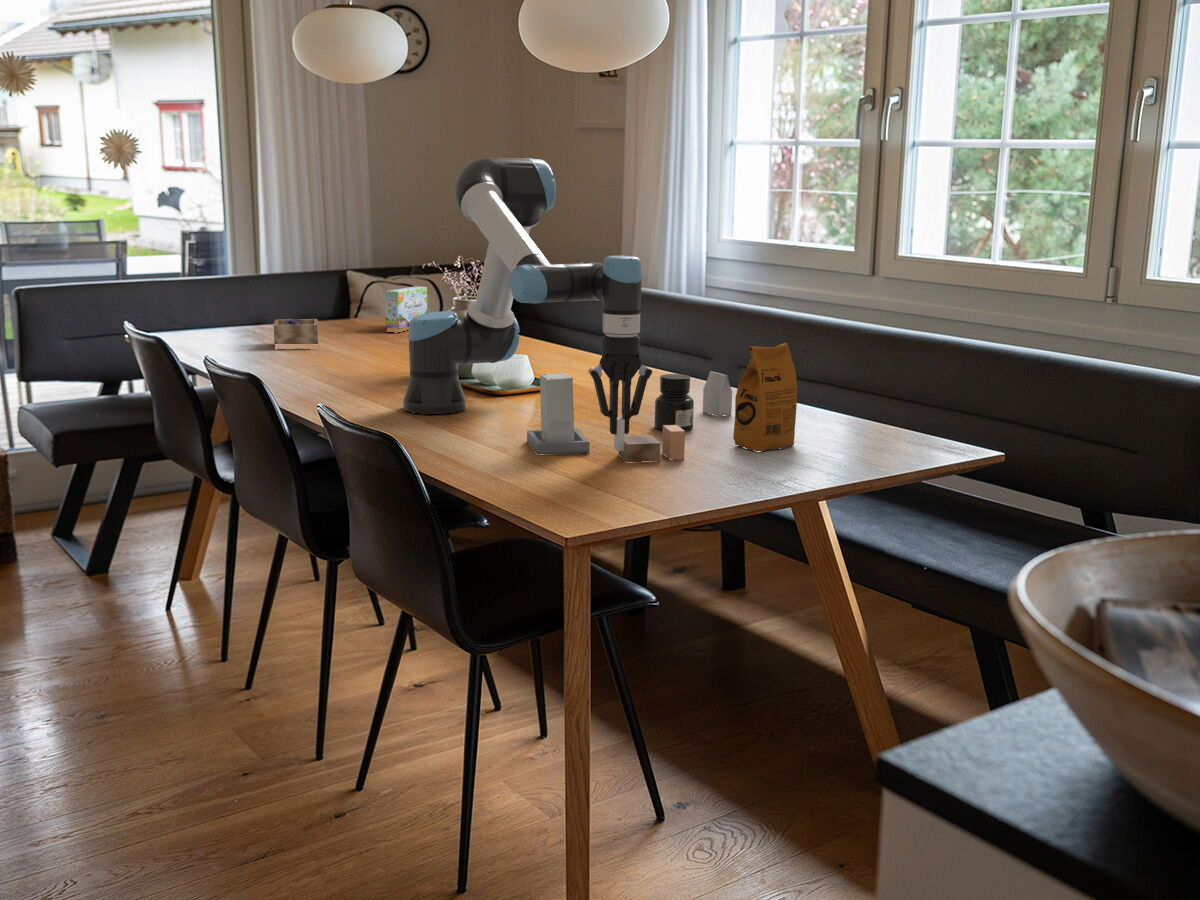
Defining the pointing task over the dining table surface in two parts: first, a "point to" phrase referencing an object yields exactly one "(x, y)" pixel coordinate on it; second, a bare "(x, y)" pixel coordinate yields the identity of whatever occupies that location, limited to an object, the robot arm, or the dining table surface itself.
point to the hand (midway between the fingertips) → (619, 449)
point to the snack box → (405, 305)
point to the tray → (558, 444)
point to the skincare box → (557, 408)
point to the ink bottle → (674, 402)
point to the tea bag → (717, 395)
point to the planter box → (296, 332)
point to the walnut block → (640, 449)
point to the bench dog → (673, 441)
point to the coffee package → (766, 400)
